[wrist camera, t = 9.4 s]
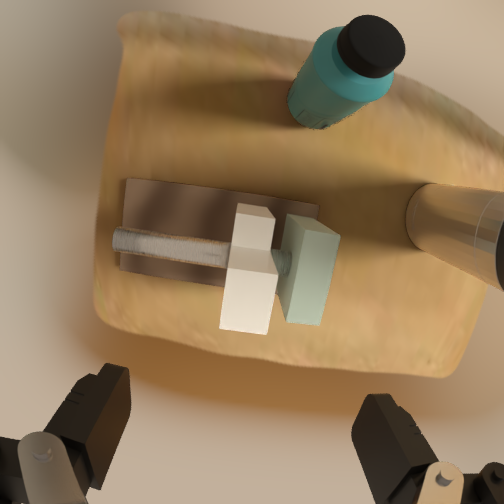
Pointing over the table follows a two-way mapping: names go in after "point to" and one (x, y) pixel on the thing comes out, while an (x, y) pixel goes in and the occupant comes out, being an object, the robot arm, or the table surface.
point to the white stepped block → (250, 272)
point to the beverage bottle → (346, 71)
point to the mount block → (307, 269)
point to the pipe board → (194, 222)
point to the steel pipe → (185, 248)
